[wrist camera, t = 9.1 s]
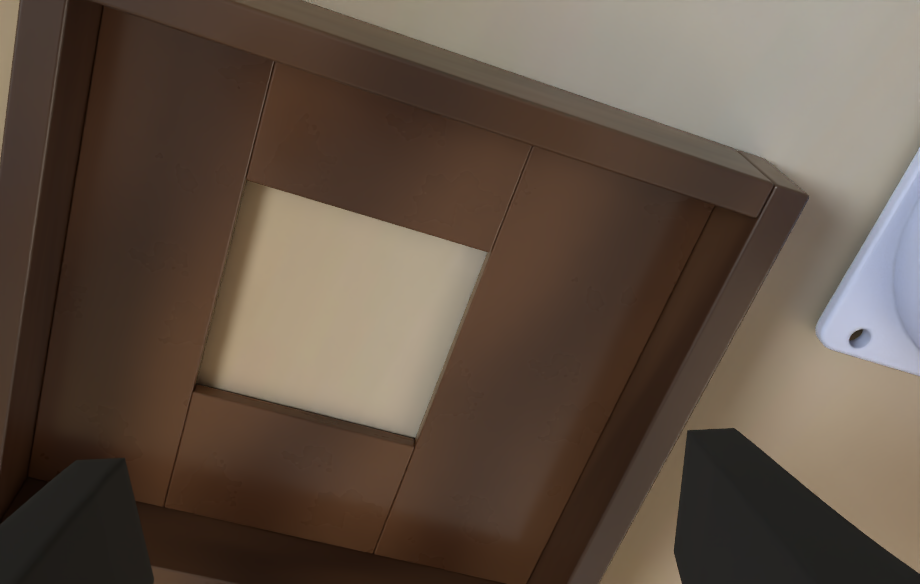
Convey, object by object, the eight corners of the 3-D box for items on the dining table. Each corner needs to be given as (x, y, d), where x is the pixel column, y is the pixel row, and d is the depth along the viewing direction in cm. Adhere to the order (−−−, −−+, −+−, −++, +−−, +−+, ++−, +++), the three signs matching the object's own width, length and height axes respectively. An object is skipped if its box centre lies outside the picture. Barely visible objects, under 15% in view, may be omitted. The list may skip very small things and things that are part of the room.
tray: (767, 159, 19) (812, 196, 17) (539, 603, 25) (551, 673, 23) (76, -78, 16) (26, -69, 14) (-4, 484, 22) (-49, 551, 20)
